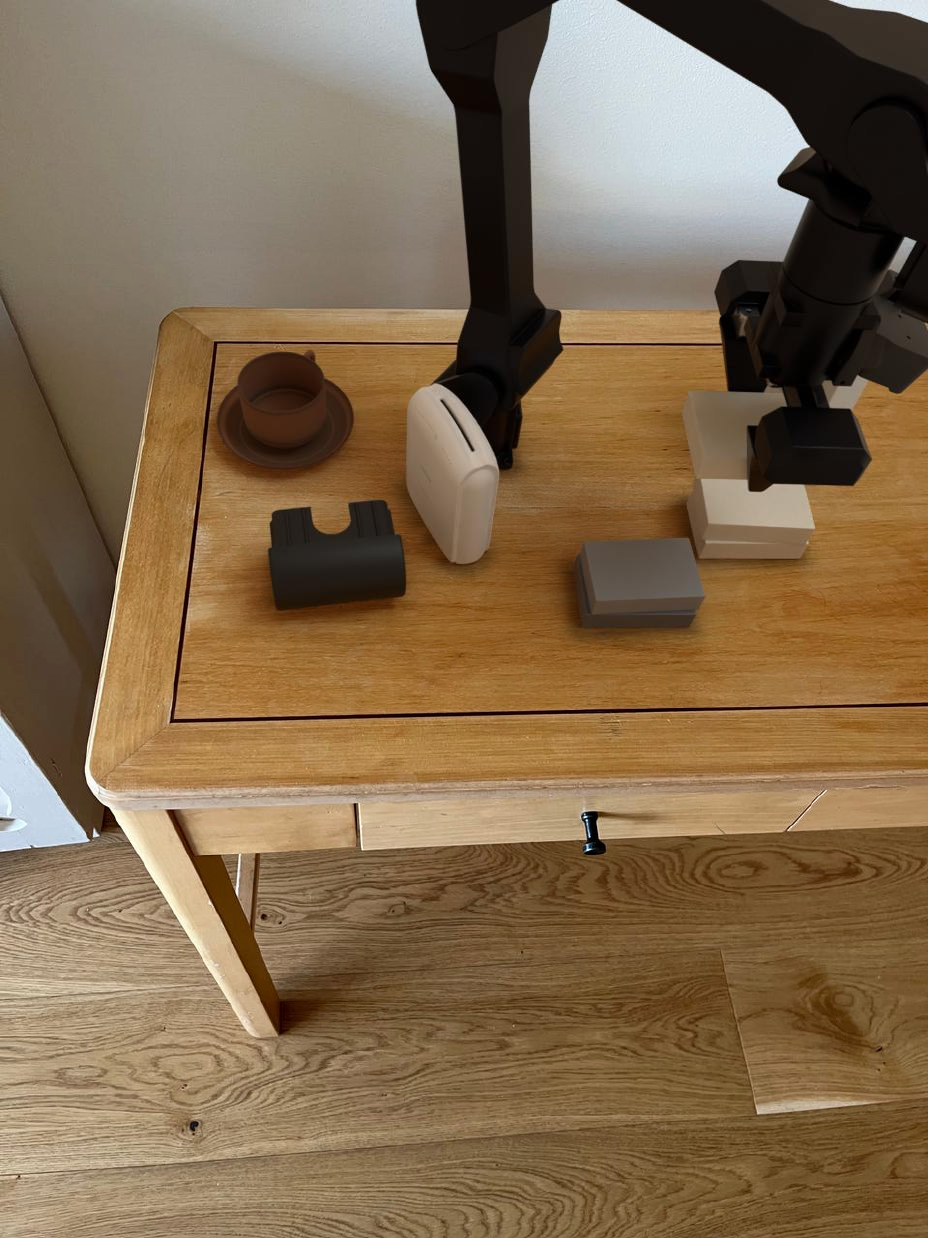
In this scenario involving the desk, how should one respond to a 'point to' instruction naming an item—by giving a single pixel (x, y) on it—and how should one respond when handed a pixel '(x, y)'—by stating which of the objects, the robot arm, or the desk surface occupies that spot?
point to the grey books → (637, 583)
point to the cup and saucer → (284, 413)
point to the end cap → (335, 558)
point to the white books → (749, 520)
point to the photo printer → (450, 473)
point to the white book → (723, 429)
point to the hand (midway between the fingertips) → (746, 454)
